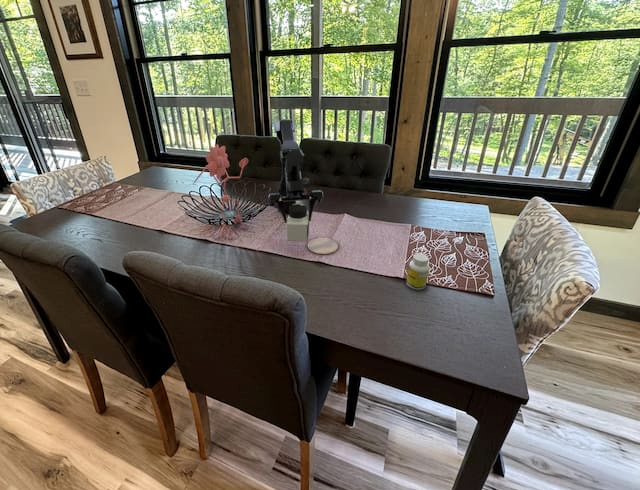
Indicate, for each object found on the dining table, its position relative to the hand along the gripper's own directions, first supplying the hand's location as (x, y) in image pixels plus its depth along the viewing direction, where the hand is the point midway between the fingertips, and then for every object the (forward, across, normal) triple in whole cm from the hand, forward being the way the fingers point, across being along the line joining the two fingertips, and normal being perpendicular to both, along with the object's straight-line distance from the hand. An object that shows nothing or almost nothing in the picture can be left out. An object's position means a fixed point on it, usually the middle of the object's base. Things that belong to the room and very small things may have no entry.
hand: (298, 221), depth 105 cm
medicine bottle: (+4, 0, +6) cm, 7 cm away
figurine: (-6, -28, +24) cm, 37 cm away
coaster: (+7, +9, +11) cm, 16 cm away
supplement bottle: (+24, +32, -7) cm, 41 cm away
